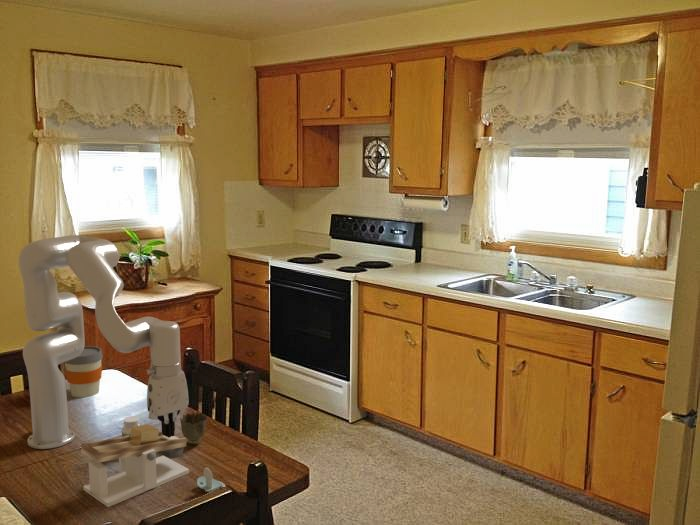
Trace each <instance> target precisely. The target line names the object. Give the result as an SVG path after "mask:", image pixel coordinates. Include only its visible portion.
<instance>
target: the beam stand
mask: <svg viewBox="0 0 700 525" xmlns="http://www.w3.org/2000/svg"><path fill="white" fill-rule="evenodd" d="M125 437H126V436H125ZM156 454H157V452H156V451H155V450H154V449H151V450H149V451H146V452H143V453H142V455H137V456H131V457H126V458H121V459H118V471H119V472H117V473H114V474H112V475H109V476H108V471H107V470H108V468H107V465H106V464H104V463H102V462H99V463H97V462H95V461H94V460H92V461H89V462H88V476H89V477H88V478H89V483H88V484H85V485H83V487H82V488H83V491H84V492H85V493H87V494H89V495H90V496H92V497H93V498H94V499H96V500H97V501H98V502H100V503H101V504H102V505H104V506H105V507H107V508H109V507H110V508H111V507H112V506H115V505H117V504H120V503H121V502H124V501H126V500H129V499H131V498H133V497H136V496H138V495H140V494H143V493H145V492H148V491H150V490H152V489H154V488H158V487H160V486H161V485H164V484H166V483H170V482H171V481H174V480H176V479H179V478H181V477H184V476H186V475H188V474H190V469H189V468H188V467H186V466H184V465H183V464H180V463H178V462H177V461H175V460H173V459H169V458H167V457H165V456H163V455H161V456H158V457H157V456H156Z"/></svg>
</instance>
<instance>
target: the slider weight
mask: <svg viewBox="0 0 700 525" xmlns="http://www.w3.org/2000/svg"><path fill="white" fill-rule="evenodd" d="M159 431H160V429H159V428H156V427H155V426H153V425H151V424H147V423H146V424H139V426H132V427H131V431H130V440H129V442H130V443H132V444H134V445H135V446H138V445H144V444H150V443H156V442H158V434H159Z"/></svg>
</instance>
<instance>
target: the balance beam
mask: <svg viewBox="0 0 700 525" xmlns="http://www.w3.org/2000/svg"><path fill="white" fill-rule="evenodd" d="M129 440H130V436H126V437H122V436H120V437H115V438H108V439H102V440H95V441H89V442H88V441H87V442H82V443H81V448H80V453H81V454H82V455H84V456H86V457H88V458H89V459H91V460H92V461H95V462H97V463H99V462H101V463H102V462H108V461H114V460H119V459H121V458H126V457H131V456H137V455H142V453H143V452H146V451H149V450H151V449H154V450H155V451H156V453H158V454H160V455H161V456H165V457H167V458H169V459H171V460H173V459H175V458H181V457H183V456H184V455H183V454H184V448H186V447H187V443H188V439H187V438H186V437H178V436H176V435H174V436H171V437H169V438H168V437H166V436H164V435H163V433H162V430H159V434H158V442H156V443H150V444H144V445H138V446H135V445H134V444H132V443H130V442H129Z"/></svg>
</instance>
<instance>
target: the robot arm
mask: <svg viewBox="0 0 700 525" xmlns="http://www.w3.org/2000/svg"><path fill="white" fill-rule="evenodd" d="M119 260H120V252H119V249H118V248H117V246H116V245H115V244H114V243H113V242H111V241H110V240H108V239H105V238H101V237H100V238H98V237H91V236H85V235H79V234H77V235H76V234H73V235H66V236H65V235H64V236H57V237H48V238H43V239H42V238H41V239H39V240H35V241H32V242H29V243H28V244H26V245H24V246H23V248H22V249H21V250H20V252H19V256H18V268H19V272H20V274H21V278H22V284H23V295H24V296H23V297H24V308H25V310H24V311H25V319H26V323H27V326H28V327H29V328H30V329H31V330H32V331H35V332H45V331H48V330H53V329H55V328H57V330H53V331H50V332H46V333H43V334H40V335H37V336H34V337H32V338H31V339H29V340H28V341H27V342H26V343H25V344H24V346H23V348H22V358H23V361H24V364H25V367H26V368H25V369H26V372H27V377H28V378H27V379H28V387H29V389H28V390H29V398H30V400H29V401H30V412H31V413H30V415H31V426H32V434H31V435H29V437H28V438H27V440H26V441H27V445H28V446H29V447H30V448H33V449H36V450H37V449H38V450H46V449H47V450H48V449H56V448H58V447H62V446H65V445H68V443H70V442H72V441H73V440H74V439H75V437H76V433H75V431H74V430H73V429H71V428H69V414H68V412H69V410H68V399H67V398H68V397H67V396H68V395H67V385H66V384H67V382H66V377H65V376H64V374H63V372H62V371H61V370H60V369H59V365H60V364H62V363H64V362H66V361H69V360H71V359H74V358H76V357H78V356H79V355H80V354H81V353H82V352H83V350H84V346H86V345H85V344H86V343H85V341H86V340H85V337H86V336H85V324H84V310H83V306H82V303H81V300H80V299H79V297H78V296H77V295H76V294H74V293H72V292H68V291H62V292H59V291H58V282H57V279H56V277H55V276H54V274H53V273H52V272H51V270H55V269H60V268H66V267H69V268H70V270H72V272H73V273H74V275H75V276H76V277H77V278H78V279H79V281H80V282H81V284H82V286H83V287H84V288H85V289H86V290H87V292H88V293H89V294H90V296H91V297H92V298H93V299H94V302H95V308H94V312H95V320H96V324H97V327H98V330H99V331H100V332H101V334H102V335H103V337H104V338H105V339H106V340H107V342H108V343H109V345H111V346H112V347H113V348H114V350H116V351H117V352H120V353H122V354H129V353H132V352H135V351H138V350H140V349H142V348H145V347H149V349H150V350H149V351H150V354H149V355H150V368H149V369H147V370H146V372H147V375H149V377H148V382H147V390H146V407H147V408H146V409H147V411H148V419H149V420H151V421H154V420H156V421H157V420H158V421H159V422H161V431H162V433H163V435H164V436H166V437H168V438H169V437H171V436H176V435H175V431H176V423H175V422H176V421H177V419H178V416H179V415H180V413H181V412H183V411H184V410H186V409H187V407H188V406H189V390H188V384H187V382H188V381H187V379H186V375H185V371H183V370H182V364H181V363H182V362H181V359H182V358H181V357H182V356H181V332H180V330H181V329H180V326H179V325H180V324H178V323H177V322H176V321H172V320H171V321H170V320H163V319H162V320H161V319H159V318H157V317H153V316H144V317H140V318H138V319H134V320H129V321H127V322H124V321H123V319H122V318H121V317H120V315H119V314H118V313H117V311H116V308H115V303H114V300H115V298H117V297H118V296H119V295H120V293H121V292H122V291H123V289H124V287H125V286H124V281H123V279H122V278H121V277H120V276H119V275H118V274H117V272H116V270H115V269H114V267H116V266H117V265H118V263H119Z"/></svg>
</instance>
